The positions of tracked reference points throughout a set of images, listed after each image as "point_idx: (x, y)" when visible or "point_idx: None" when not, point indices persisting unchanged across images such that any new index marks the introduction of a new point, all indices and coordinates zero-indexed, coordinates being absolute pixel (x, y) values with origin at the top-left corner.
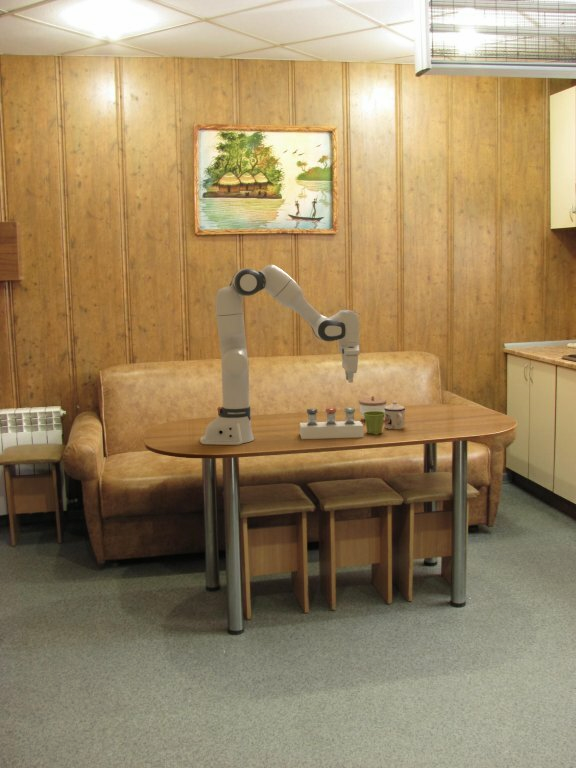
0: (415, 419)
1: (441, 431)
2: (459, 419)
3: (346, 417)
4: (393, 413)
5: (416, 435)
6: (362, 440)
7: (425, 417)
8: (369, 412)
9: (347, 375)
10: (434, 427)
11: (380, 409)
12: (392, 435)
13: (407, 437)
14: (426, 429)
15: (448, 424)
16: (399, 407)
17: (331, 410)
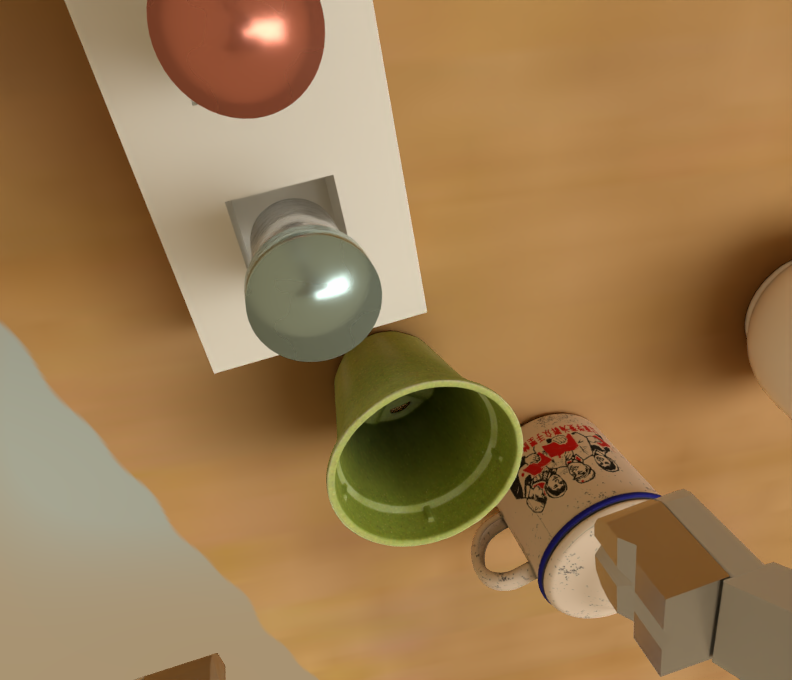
0: (735, 517)
1: (434, 669)
2: (687, 667)
3: (265, 232)
4: (534, 547)
5: (324, 600)
6: (87, 336)
7: (768, 547)
8: (504, 415)
9: (726, 612)
10: (530, 626)
11: (784, 408)
12: (308, 492)
13: (260, 574)
14: (484, 608)
15: (591, 658)
16: (576, 606)
17: (153, 46)
